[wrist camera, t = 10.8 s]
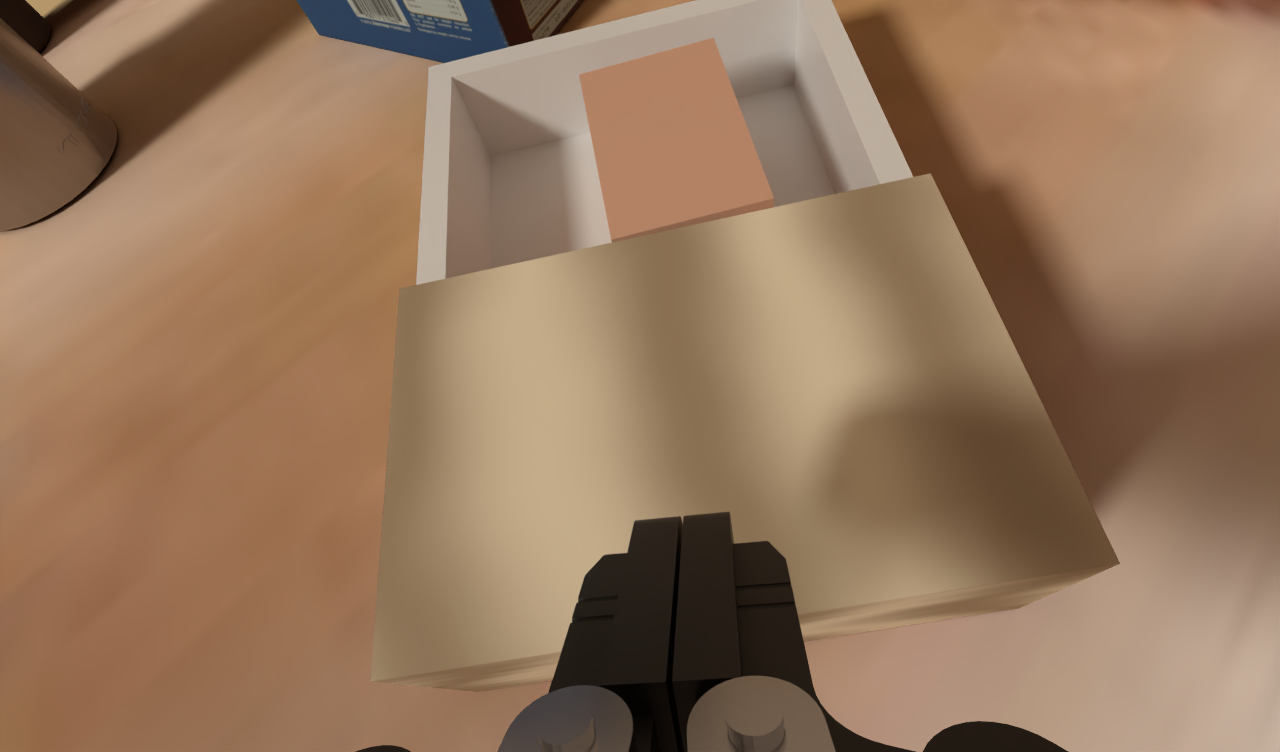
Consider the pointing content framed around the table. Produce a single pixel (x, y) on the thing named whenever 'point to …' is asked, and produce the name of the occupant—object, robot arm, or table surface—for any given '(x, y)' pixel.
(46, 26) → the bottle
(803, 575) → the beige box sleeve
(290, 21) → the table surface
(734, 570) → the robot arm
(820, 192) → the white inner box tray
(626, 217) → the block
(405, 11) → the protein box
